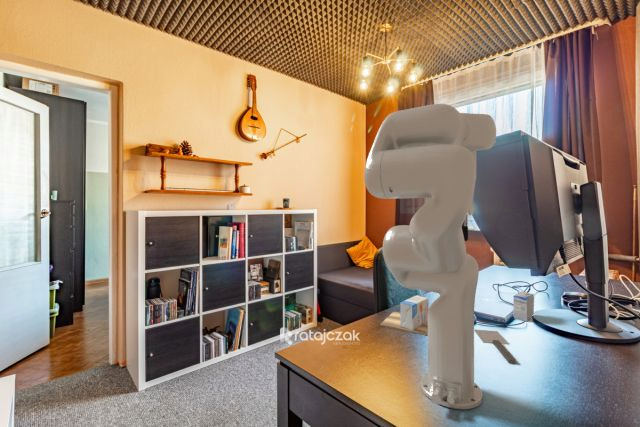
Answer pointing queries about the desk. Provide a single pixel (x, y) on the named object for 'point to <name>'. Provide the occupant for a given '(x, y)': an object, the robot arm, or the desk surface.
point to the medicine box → (523, 306)
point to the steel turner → (496, 343)
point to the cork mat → (394, 323)
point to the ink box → (414, 312)
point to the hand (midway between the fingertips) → (461, 240)
